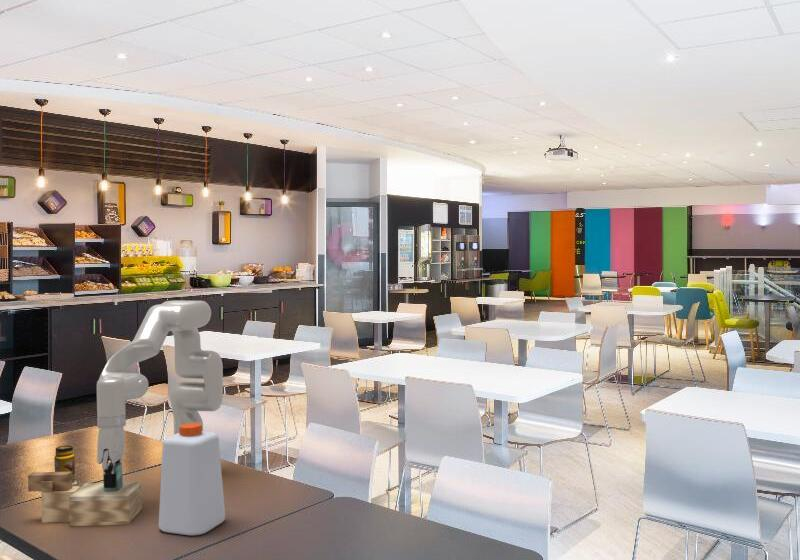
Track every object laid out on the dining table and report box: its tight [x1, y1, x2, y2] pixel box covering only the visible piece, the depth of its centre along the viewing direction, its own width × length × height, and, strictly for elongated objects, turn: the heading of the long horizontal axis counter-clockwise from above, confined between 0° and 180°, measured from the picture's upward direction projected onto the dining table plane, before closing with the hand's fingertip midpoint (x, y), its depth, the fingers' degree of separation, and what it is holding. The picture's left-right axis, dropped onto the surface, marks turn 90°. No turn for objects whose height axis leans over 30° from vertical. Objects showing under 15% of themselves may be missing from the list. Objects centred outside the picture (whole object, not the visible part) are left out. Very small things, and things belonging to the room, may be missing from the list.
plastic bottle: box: [158, 423, 226, 537], centre depth 203 cm, size 15×15×28 cm
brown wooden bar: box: [27, 471, 73, 492], centre depth 209 cm, size 11×3×4 cm, turn 93°
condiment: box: [54, 445, 78, 486], centre depth 243 cm, size 7×8×12 cm
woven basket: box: [40, 481, 142, 527], centre depth 210 cm, size 25×12×12 cm, turn 93°
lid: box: [69, 462, 142, 501], centre depth 210 cm, size 16×12×10 cm
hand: (113, 484), depth 210 cm, fingers closed on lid, 4 cm apart
